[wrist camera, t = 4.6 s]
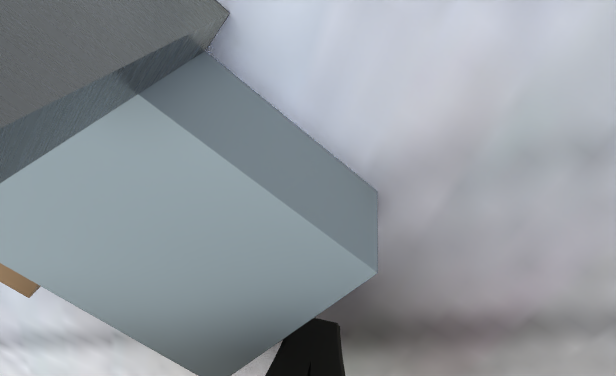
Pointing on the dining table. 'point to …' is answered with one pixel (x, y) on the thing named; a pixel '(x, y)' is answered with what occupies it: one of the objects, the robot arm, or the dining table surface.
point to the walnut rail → (17, 281)
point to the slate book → (193, 221)
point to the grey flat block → (86, 63)
